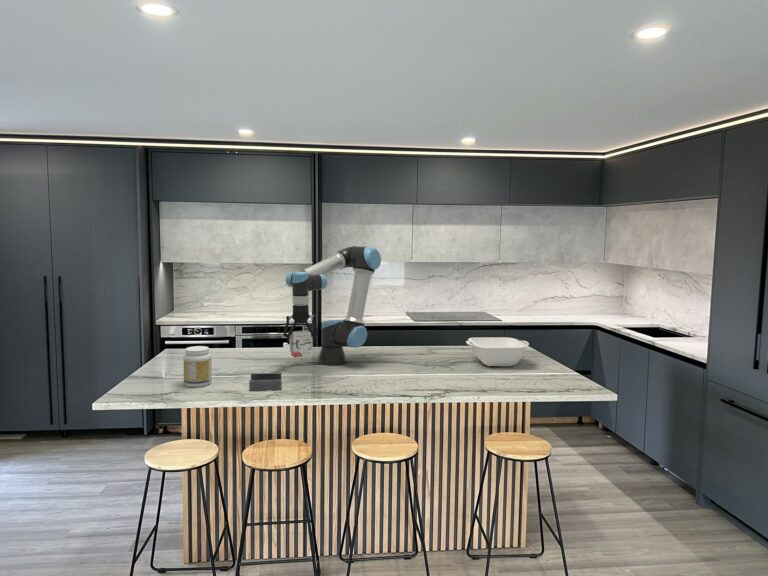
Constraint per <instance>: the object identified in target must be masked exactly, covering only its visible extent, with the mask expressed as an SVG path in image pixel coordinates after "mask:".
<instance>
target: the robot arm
mask: <svg viewBox="0 0 768 576" xmlns="http://www.w3.org/2000/svg"><path fill="white" fill-rule="evenodd" d="M381 263H382V257H381V254H380V252H379V250H378V249H377V248H376V247H374V246H373V247H372V246H355V245H354V246H349V247H346V248H343V249H341V250H339V251H336V252H333V254H332V256H330V257H327V258H325V259H323V260H320V261H319V262H317V263H315V264H313V265H310V266H308V267H306V268H304V269H301V270H300V271H294V272H289V273H288V274H286V276H285V284H286V285H287V286H288V287H289V288H292V289H291V291H292V304H293V305H292V315H286V317H285V318H286V322H285V326H284V329H283V334H282V336H283V337H285V338H286V343H287V345H289V352H291V334H292V332H293V331H294V330H295V328H296V326H297V325H300V324H302V325H304V324H305V326H306V327H307V330H308V331H310V332H311V352H313V345H314V344H315V343H316V337H318V336H319V331H318V326H317V324H316V316H315V314H312V315H311V314H310V313H309V310H310V309H309V292H310V291H318V290H319V291H321V290H323V289H325V288H327V286H328V278H327V277H326V275H328V274H332V273H333V272H336V271H337V270H343V269H345V268H346V269H348V268H352V270H353V272H354V276H353V282H352V288H351V291H350V292H351V293H350V298H349V301H348V302H349V303H348V306H347V307H348V308H347V313H346V317H345V318H343V319H331V320H324V321H323V322H322V323H321V328H320V330H321V331H320V334H321V337H320V338H321V339H320V340H321V345H320V346H321V347H320V348H321V349H320V351H319V354H318V358H317V362H318V364H320V365H325V366H338V365H343V364H346V363H347V362H346V361H347V358H346V354H345V351H344V347H348V348H356V349H357V348H360V347H362V346H363V345H364V344H365V342H367V341H366V340H367V339H368V338H367V337H368V330H367V328H366V327H365V322H364V320H363V319H364V313H365V308H366V302H367V297H368V292H369V287H370V282H371V277H372V276H373V275H375V272H376V271H375V270H378V269H379V267H380V266H381ZM292 319H293V324H292V326H291V327H290V329H288V328H289V324H290V321H291V320H292ZM309 319H310V320H311V321H312V324H313V328H314V331H313V329H312V327H311V325H310V324H309V322H308V320H309ZM288 330H289V331H288Z"/></svg>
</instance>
